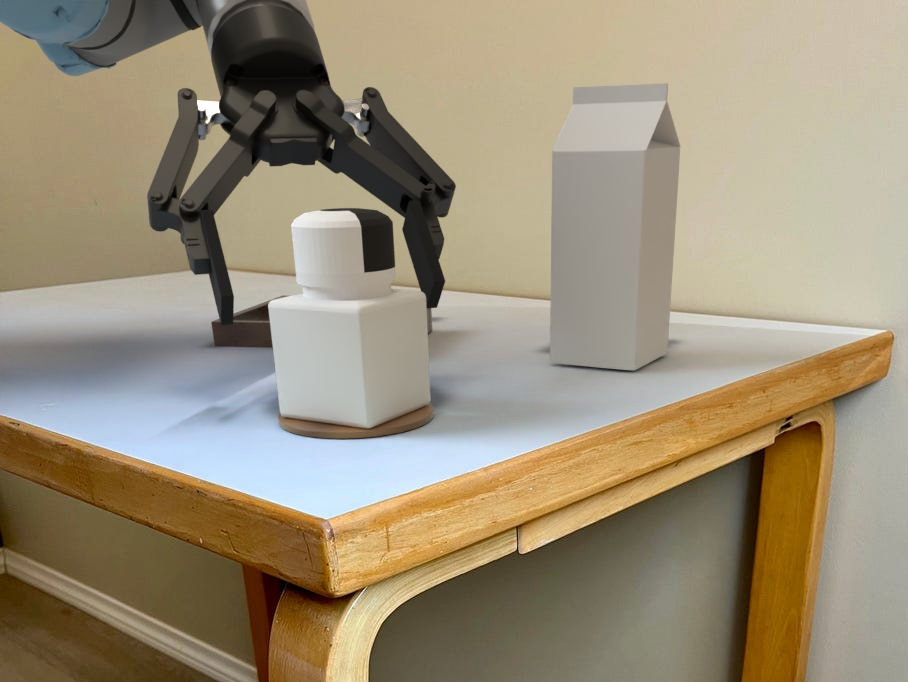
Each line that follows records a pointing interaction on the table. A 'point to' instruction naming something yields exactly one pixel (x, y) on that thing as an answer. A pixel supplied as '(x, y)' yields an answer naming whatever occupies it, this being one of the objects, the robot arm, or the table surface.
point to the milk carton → (613, 227)
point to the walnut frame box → (255, 328)
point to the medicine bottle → (349, 325)
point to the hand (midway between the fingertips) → (335, 303)
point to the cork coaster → (342, 432)
